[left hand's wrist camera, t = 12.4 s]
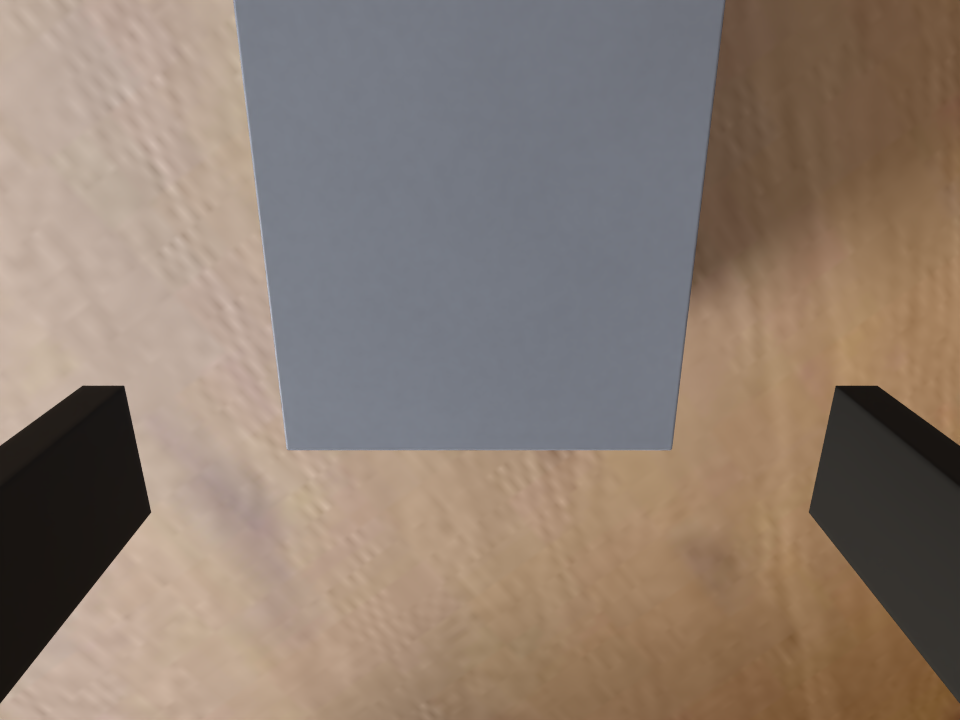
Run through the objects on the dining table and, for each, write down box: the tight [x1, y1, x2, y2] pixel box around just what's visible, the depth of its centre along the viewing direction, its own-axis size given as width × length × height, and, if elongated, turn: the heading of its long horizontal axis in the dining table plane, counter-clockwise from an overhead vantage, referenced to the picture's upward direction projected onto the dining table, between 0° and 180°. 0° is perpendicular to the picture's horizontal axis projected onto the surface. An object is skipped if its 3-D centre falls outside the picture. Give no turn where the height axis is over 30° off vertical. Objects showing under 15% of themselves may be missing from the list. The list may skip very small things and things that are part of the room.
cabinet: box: [233, 0, 725, 450], centre depth 20 cm, size 22×11×11 cm, turn 0°
